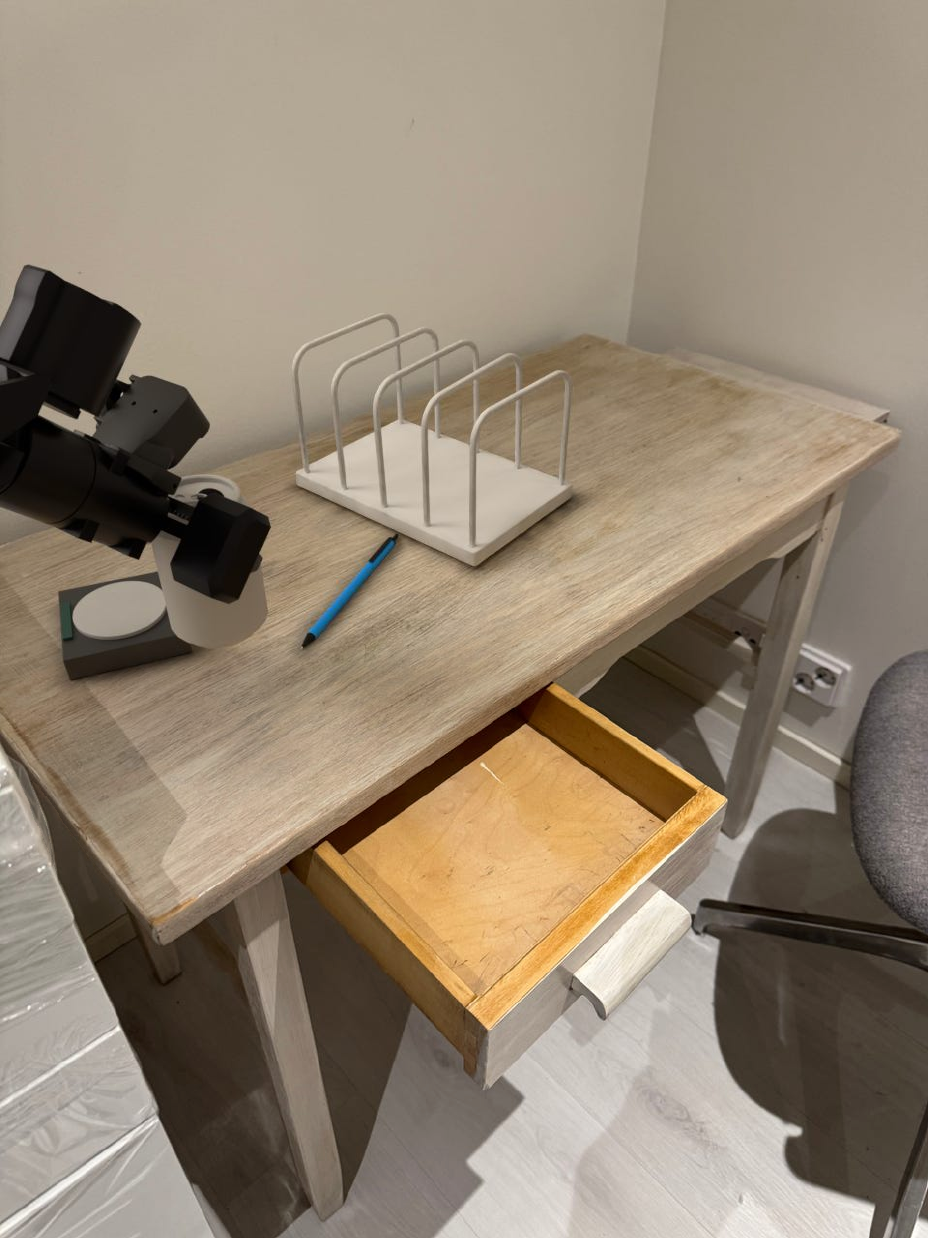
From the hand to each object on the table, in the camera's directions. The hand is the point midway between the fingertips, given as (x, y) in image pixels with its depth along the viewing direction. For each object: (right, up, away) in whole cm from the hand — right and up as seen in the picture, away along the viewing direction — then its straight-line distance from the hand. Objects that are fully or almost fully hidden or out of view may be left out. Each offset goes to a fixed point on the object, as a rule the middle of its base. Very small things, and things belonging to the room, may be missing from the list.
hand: (221, 547), depth 68 cm
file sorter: (+15, +8, +30) cm, 35 cm away
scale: (-11, -7, +11) cm, 17 cm away
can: (-1, -6, +3) cm, 7 cm away
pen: (+8, -3, +17) cm, 19 cm away
